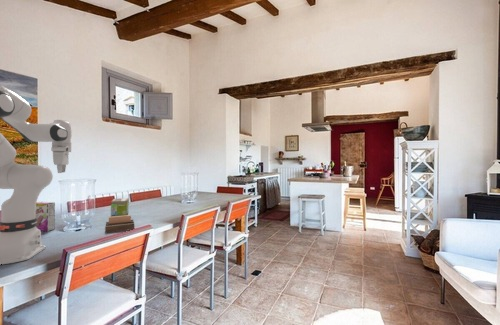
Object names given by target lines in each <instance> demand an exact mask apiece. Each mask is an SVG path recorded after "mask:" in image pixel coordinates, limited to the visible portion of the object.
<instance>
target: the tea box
mask: <svg viewBox="0 0 500 325" xmlns="http://www.w3.org/2000/svg"><path fill="white" fill-rule="evenodd" d="M129 201H130V199H129V198H128V197H125V198H124V197H121V198H113V199H112V200H111V202H110V217H112V216H123V215H129V203H130V202H129Z"/></svg>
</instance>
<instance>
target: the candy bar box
mask: <svg viewBox="0 0 500 325" xmlns="http://www.w3.org/2000/svg"><path fill="white" fill-rule="evenodd" d="M55 206H56V203H55V201H52V202H51V201H37V202H36V216H35V218H37V226H36V227H37V228H38V229H39V230H41V232H51V231H53V230H55V226H56V222H55V221H56V218H55V216H56V215H55V214H56V210H55V209H56V207H55Z"/></svg>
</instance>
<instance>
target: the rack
mask: <svg viewBox="0 0 500 325" xmlns="http://www.w3.org/2000/svg"><path fill="white" fill-rule="evenodd" d="M127 229H129V230H127ZM131 229H133V230H135V222H134V219H132V218H131V222H121V223H111V224H109V221H106V222H105V227H104V230H105V231H104V233H106V232H107V233H114V232H115V231H116V232H122V231H121V230H125V231H131ZM107 233H106V234H107Z"/></svg>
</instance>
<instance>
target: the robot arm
mask: <svg viewBox="0 0 500 325" xmlns="http://www.w3.org/2000/svg"><path fill="white" fill-rule="evenodd" d="M32 110H33V109H32V106H31V105H30V103H29V102H28V101H26V99H24V98H22V97H21V96H20V95H19V94H18V93H16V92H14V91H13V90H11V89H9V88H7V87H5V86H3V85H0V119H1V120H2V121H3V122H4V123H5V124H7V125H8V126H10V127H11V128H12V129H13V130H14V131H16V132H18V134H20V136H21V137H22V138H23V139H24V140H25V141H26V142H28V143H48V142H50V143H51V152H52V159H53V160H52V161H53V164H54V166H55V165H56V168H57V174H62V173H66V168H67V165H69V155H70V154H69V153H72V142H71V139H72V128H71V127H72V126H71V123H70V122H68V121H67V120H62V119H56V120H55V119H54V120H53V122H51V123H32V122H27V119H29V118H30V116H31V115H32ZM16 157H17V150H16V148H15V147H14V146H13V145H12V144H11V143H10V142H9V141H8V139H7V138H6V137H5V136H4V135H3V134H2V133H1V132H0V189H1V190H13V192H12V195H11V196H10V197H9V198H8V199H5V200H4V201H3V202H2V204H1V205H0V206H1V208H0V212H1V213H0V266H1V264H2V265H7V264H14V263H19V262H23V261H27V260H30V259H31V258H33V257H34V256H36V255H38V254H39V253H40V252H42V251H43V250H45V249H46V248H47V246H46V245H44V244H42V231H41V230H39V229H38V228H37V227H36V226H37V218H35V216H36V202H38V198H39V196H40V194H41V192H42V191H43V190H44V189H46V187H49V185H50V184H51V183H52V181H53V177H54V174H53V172H52V170H51V169H50V168H49V167H47V166H43V165H40V164H22V163H21V164H19V163H17V162H15V159H16Z"/></svg>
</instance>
